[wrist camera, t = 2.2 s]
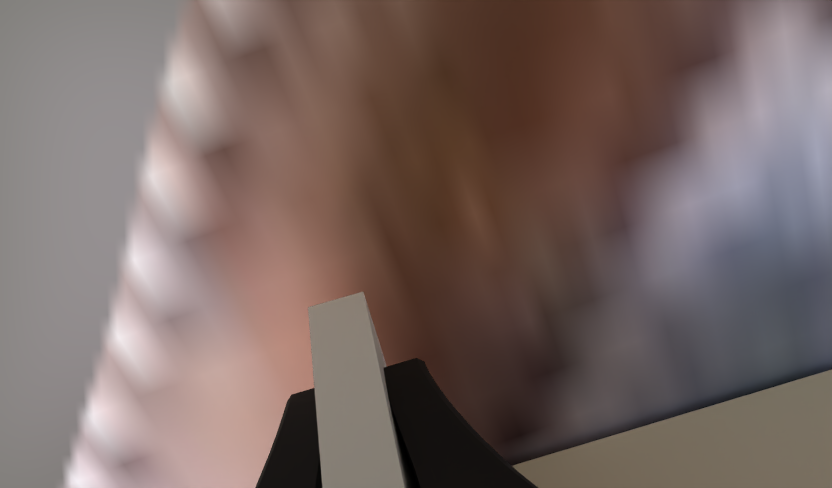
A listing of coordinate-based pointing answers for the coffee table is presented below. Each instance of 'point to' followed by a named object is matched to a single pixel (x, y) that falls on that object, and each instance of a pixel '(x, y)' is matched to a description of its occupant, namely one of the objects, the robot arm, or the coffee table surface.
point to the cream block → (582, 465)
